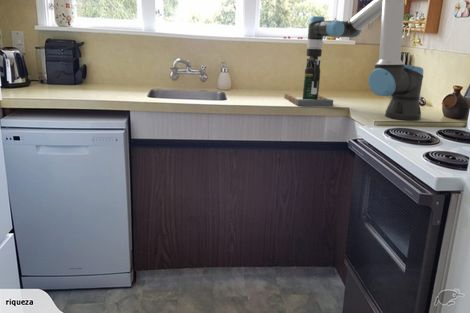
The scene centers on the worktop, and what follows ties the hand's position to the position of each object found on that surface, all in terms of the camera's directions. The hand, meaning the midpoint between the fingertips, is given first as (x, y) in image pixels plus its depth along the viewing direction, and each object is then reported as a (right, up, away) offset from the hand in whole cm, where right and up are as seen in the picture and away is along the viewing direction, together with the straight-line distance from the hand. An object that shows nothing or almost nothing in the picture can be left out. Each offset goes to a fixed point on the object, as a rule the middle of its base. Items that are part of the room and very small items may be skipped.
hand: (310, 92), depth 222 cm
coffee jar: (0, -5, +2) cm, 5 cm away
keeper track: (-1, -4, +7) cm, 8 cm away
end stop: (+1, -7, -5) cm, 9 cm away
